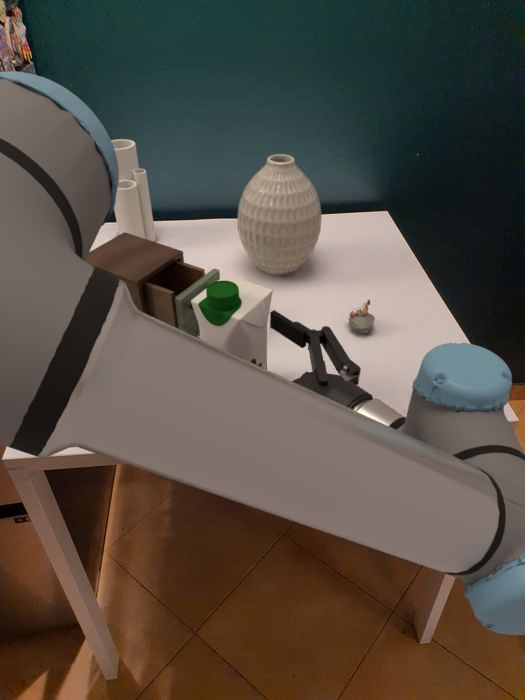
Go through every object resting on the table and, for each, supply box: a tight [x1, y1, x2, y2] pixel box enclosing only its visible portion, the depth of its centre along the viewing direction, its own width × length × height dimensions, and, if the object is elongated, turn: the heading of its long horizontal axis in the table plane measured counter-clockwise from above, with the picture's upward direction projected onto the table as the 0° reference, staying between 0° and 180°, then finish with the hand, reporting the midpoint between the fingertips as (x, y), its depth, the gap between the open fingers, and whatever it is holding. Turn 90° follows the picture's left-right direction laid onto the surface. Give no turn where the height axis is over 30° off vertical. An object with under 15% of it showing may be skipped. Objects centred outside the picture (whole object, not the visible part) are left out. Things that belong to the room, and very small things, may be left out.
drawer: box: [142, 260, 221, 336], centre depth 88 cm, size 17×11×8 cm, turn 59°
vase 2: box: [236, 153, 323, 276], centre depth 99 cm, size 16×16×22 cm
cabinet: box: [85, 232, 185, 314], centre depth 93 cm, size 14×12×10 cm
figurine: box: [348, 299, 376, 334], centre depth 89 cm, size 5×4×6 cm
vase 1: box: [110, 138, 157, 242], centre depth 110 cm, size 11×7×20 cm, turn 27°
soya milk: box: [191, 273, 274, 370], centre depth 71 cm, size 9×9×20 cm
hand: (235, 338), depth 71 cm, fingers open, 13 cm apart
